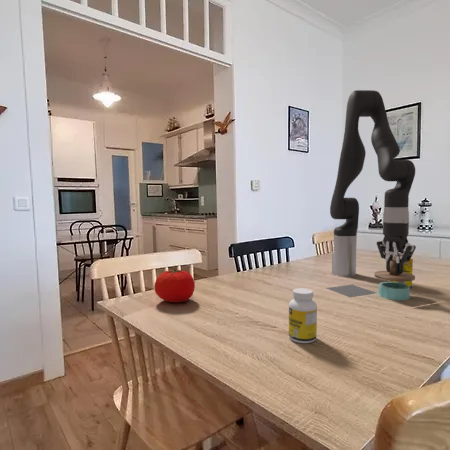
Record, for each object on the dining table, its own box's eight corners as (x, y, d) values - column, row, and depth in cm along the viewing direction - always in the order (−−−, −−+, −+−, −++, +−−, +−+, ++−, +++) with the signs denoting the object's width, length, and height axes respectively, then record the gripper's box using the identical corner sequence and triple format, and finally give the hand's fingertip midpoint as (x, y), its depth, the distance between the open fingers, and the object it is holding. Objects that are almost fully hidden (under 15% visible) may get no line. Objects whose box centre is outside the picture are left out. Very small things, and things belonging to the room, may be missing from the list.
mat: (326, 289, 121) (326, 288, 120) (351, 285, 125) (351, 284, 125) (350, 298, 109) (350, 297, 109) (377, 293, 114) (377, 292, 114)
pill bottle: (285, 333, 82) (285, 287, 81) (311, 332, 82) (311, 286, 81) (293, 345, 75) (293, 295, 74) (320, 343, 76) (321, 294, 75)
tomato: (201, 297, 112) (200, 267, 111) (185, 309, 101) (184, 275, 100) (166, 294, 117) (165, 264, 116) (147, 305, 105) (146, 272, 104)
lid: (366, 275, 113) (366, 259, 112) (392, 271, 117) (392, 256, 117) (396, 282, 102) (396, 265, 101) (423, 279, 106) (424, 262, 106)
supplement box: (412, 288, 120) (413, 258, 119) (394, 287, 121) (395, 258, 120) (406, 284, 126) (407, 256, 125) (389, 283, 127) (390, 255, 126)
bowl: (372, 295, 113) (373, 283, 112) (392, 292, 116) (392, 280, 116) (395, 302, 104) (395, 290, 104) (415, 299, 108) (416, 287, 107)
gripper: (370, 220, 113) (369, 270, 114) (406, 222, 100) (404, 278, 101) (386, 219, 116) (385, 268, 117) (423, 221, 103) (422, 276, 104)
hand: (394, 272), depth 109 cm, fingers closed on lid, 2 cm apart
